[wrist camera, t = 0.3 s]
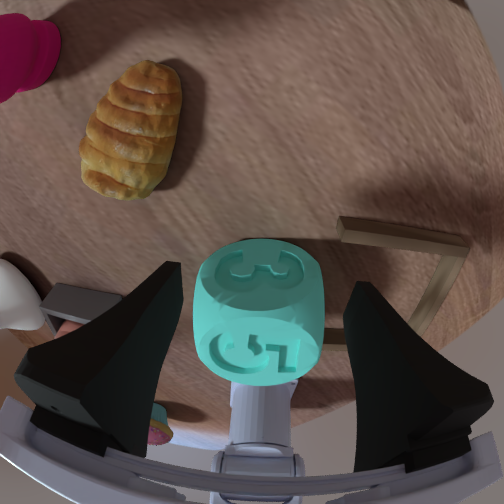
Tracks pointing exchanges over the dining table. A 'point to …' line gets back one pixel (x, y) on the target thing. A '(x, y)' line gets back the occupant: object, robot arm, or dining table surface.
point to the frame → (413, 241)
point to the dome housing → (75, 305)
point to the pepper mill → (26, 53)
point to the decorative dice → (259, 312)
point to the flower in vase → (18, 300)
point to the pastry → (132, 132)
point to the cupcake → (159, 426)
